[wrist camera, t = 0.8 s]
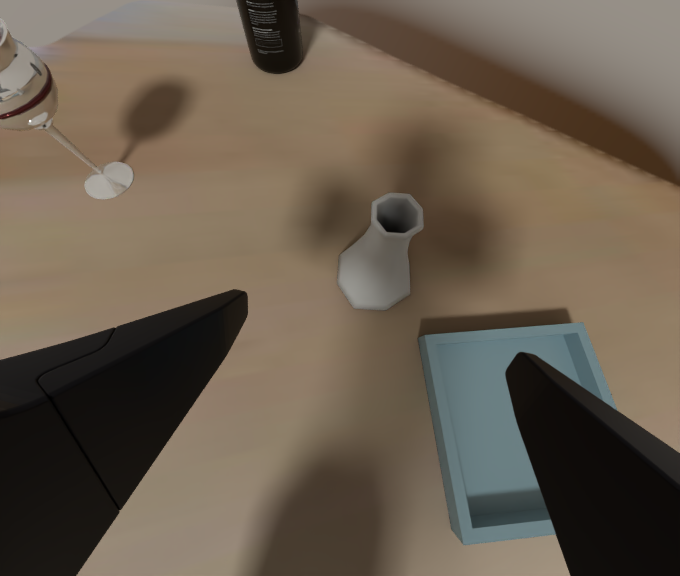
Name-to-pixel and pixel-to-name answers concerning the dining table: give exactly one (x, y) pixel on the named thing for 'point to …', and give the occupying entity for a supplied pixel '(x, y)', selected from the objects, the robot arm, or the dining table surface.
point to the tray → (495, 424)
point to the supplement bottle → (272, 33)
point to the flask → (381, 254)
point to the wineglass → (46, 111)
